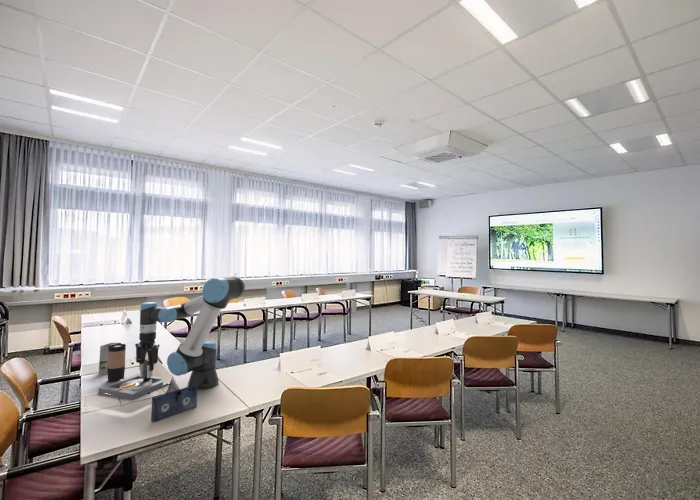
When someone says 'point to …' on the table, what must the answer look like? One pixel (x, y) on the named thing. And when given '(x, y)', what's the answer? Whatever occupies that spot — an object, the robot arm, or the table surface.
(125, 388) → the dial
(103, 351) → the coffee box
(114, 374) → the travel mug
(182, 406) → the vhs cassette tape
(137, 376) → the gray square tray
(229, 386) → the table surface
